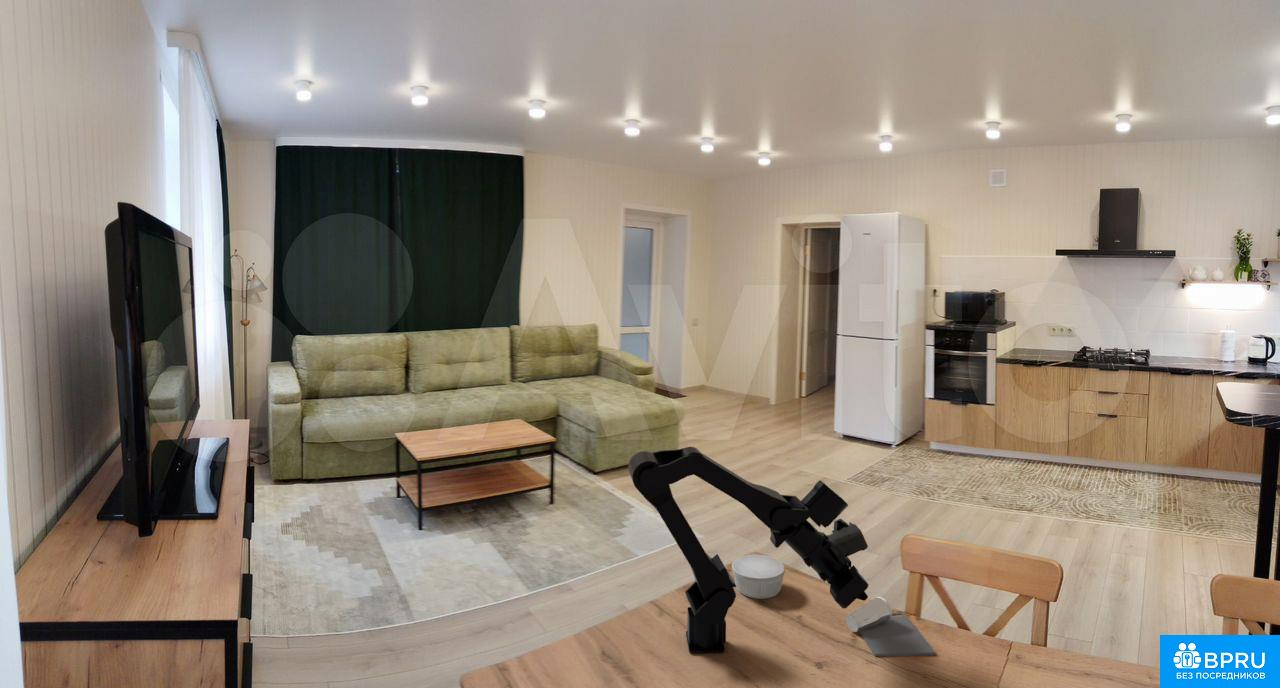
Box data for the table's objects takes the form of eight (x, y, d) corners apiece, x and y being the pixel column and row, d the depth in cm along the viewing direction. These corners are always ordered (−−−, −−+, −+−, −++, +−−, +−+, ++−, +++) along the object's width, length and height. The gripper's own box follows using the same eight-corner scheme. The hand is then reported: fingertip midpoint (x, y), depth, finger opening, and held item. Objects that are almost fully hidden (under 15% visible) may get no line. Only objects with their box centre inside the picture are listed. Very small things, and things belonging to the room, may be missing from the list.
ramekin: (724, 594, 140) (724, 571, 139) (741, 572, 150) (742, 550, 149) (775, 607, 135) (776, 582, 134) (790, 583, 145) (790, 560, 144)
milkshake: (864, 621, 122) (902, 603, 126) (842, 606, 127) (880, 589, 131) (863, 643, 123) (902, 623, 127) (843, 627, 128) (880, 609, 132)
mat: (874, 656, 118) (875, 653, 118) (851, 619, 130) (851, 617, 130) (935, 655, 118) (935, 652, 118) (906, 618, 130) (906, 616, 130)
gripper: (858, 534, 112) (919, 594, 114) (825, 495, 131) (877, 547, 133) (811, 579, 113) (872, 637, 115) (784, 534, 132) (837, 584, 133)
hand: (865, 598), depth 124 cm, fingers closed
